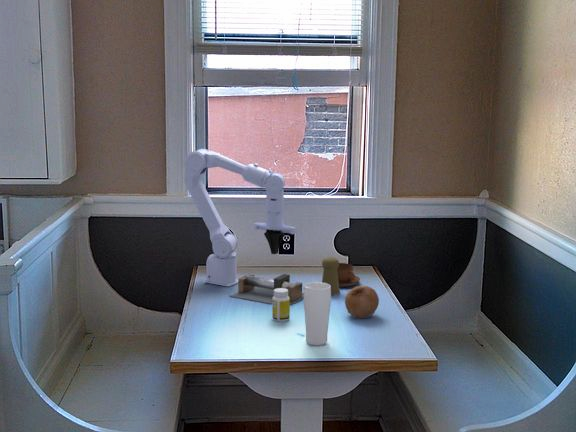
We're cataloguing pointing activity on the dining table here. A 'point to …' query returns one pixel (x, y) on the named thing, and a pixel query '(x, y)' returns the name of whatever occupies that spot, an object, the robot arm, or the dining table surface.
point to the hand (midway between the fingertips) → (274, 253)
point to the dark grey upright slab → (281, 280)
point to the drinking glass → (317, 312)
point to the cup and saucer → (346, 275)
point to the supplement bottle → (280, 305)
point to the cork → (331, 274)
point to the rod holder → (269, 286)
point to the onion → (361, 301)
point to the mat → (260, 295)
